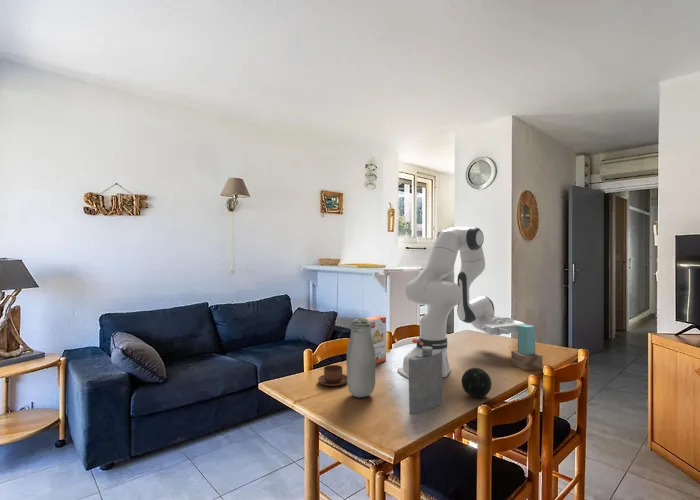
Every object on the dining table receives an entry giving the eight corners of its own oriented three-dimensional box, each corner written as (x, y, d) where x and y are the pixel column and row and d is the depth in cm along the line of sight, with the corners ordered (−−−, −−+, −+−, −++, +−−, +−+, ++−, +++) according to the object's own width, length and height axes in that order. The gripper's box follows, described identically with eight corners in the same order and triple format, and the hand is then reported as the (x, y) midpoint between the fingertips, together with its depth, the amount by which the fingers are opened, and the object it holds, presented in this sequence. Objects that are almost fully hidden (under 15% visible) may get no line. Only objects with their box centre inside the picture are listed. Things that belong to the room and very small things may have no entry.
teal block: (527, 355, 168) (527, 327, 168) (517, 352, 172) (517, 325, 172) (535, 353, 170) (534, 326, 170) (525, 351, 175) (525, 324, 175)
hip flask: (436, 398, 137) (435, 341, 136) (446, 402, 134) (445, 343, 133) (407, 412, 126) (406, 350, 126) (417, 415, 123) (416, 352, 123)
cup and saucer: (312, 383, 155) (312, 367, 155) (336, 376, 163) (335, 361, 162) (330, 391, 146) (330, 374, 146) (354, 383, 153) (354, 368, 153)
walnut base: (523, 370, 166) (523, 356, 166) (511, 364, 175) (511, 350, 175) (542, 369, 168) (542, 355, 168) (529, 362, 177) (529, 349, 176)
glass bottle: (359, 403, 133) (358, 322, 133) (342, 394, 141) (341, 318, 141) (381, 396, 139) (380, 318, 139) (363, 388, 147) (362, 314, 147)
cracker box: (367, 367, 172) (366, 320, 172) (357, 365, 177) (356, 319, 176) (387, 360, 182) (386, 316, 182) (377, 358, 187) (376, 315, 186)
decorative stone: (467, 389, 145) (466, 362, 145) (494, 395, 139) (494, 367, 139) (457, 398, 137) (457, 369, 137) (486, 404, 131) (486, 374, 131)
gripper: (478, 320, 186) (498, 326, 173) (512, 317, 193) (534, 322, 180) (478, 334, 186) (498, 340, 173) (512, 330, 193) (534, 336, 180)
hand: (517, 331), depth 177 cm, fingers open, 8 cm apart
